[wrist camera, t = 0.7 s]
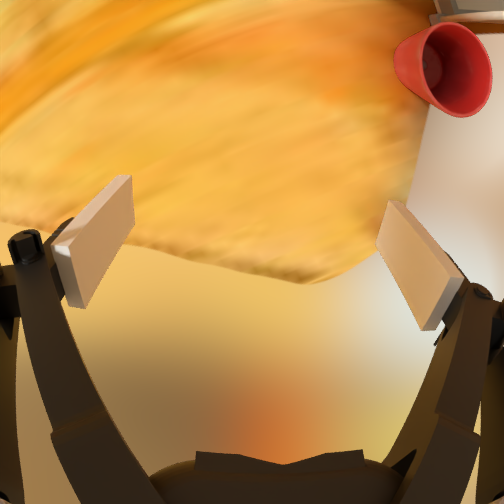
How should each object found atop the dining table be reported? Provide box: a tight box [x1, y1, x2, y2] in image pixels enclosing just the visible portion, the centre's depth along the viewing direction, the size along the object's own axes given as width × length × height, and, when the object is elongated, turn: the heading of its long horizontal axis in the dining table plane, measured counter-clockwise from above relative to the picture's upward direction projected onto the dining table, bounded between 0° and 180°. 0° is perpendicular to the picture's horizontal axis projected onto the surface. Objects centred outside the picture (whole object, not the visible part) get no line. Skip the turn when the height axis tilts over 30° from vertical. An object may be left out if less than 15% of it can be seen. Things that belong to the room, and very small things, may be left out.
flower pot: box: [394, 22, 492, 118], centre depth 27 cm, size 11×11×10 cm
